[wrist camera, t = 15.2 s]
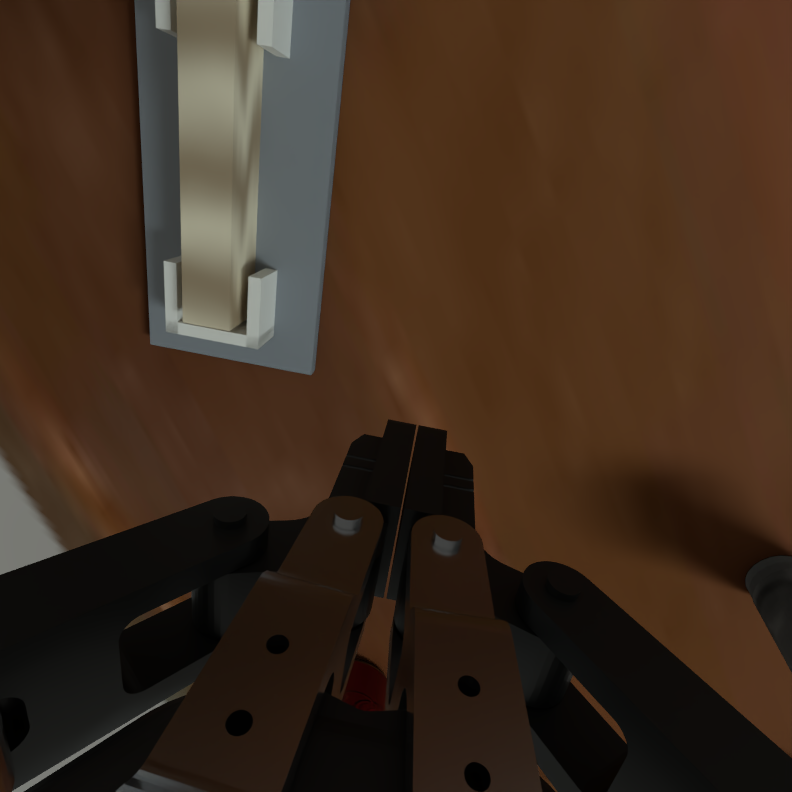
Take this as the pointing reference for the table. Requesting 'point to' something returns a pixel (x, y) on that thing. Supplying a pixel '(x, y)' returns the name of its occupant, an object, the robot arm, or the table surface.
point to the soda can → (366, 687)
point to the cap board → (277, 189)
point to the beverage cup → (774, 599)
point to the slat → (218, 156)
